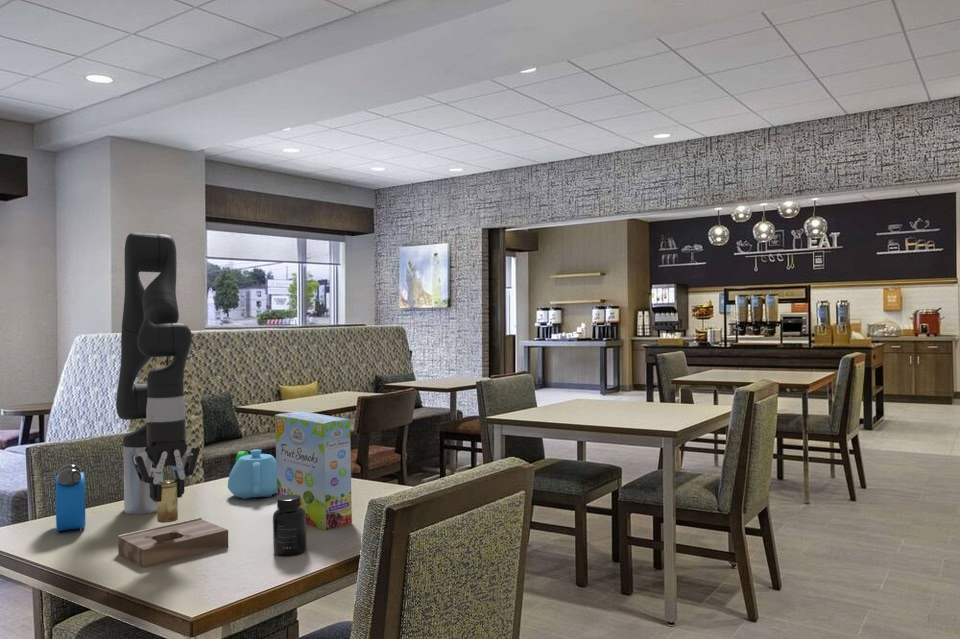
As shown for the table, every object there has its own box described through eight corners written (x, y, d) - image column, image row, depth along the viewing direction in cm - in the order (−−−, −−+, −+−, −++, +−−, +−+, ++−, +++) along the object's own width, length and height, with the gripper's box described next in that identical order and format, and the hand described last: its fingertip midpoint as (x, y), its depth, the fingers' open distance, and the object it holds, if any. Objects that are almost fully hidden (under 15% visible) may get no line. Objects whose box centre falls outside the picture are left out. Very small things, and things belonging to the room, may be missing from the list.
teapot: (228, 488, 214) (228, 445, 214) (299, 483, 220) (298, 441, 220) (226, 505, 195) (226, 458, 195) (303, 499, 201) (303, 453, 201)
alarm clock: (85, 534, 170) (84, 470, 170) (55, 538, 167) (54, 473, 167) (85, 520, 182) (84, 460, 182) (56, 524, 179) (55, 463, 179)
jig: (118, 555, 155) (118, 535, 155) (200, 536, 168) (200, 517, 168) (143, 569, 146) (143, 548, 146) (228, 548, 159) (228, 528, 159)
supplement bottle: (276, 549, 158) (276, 493, 158) (308, 547, 159) (308, 492, 159) (270, 559, 151) (269, 501, 151) (303, 558, 152) (303, 500, 152)
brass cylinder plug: (153, 520, 154) (153, 482, 154) (173, 516, 157) (172, 479, 157) (162, 523, 151) (161, 485, 151) (181, 519, 154) (181, 481, 154)
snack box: (273, 515, 185) (272, 413, 185) (303, 508, 191) (302, 410, 191) (324, 532, 170) (322, 421, 170) (354, 524, 176) (353, 417, 176)
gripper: (190, 413, 162) (191, 490, 162) (123, 420, 152) (125, 502, 152) (206, 415, 157) (208, 495, 157) (138, 423, 147) (140, 509, 147)
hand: (167, 498), depth 154 cm, fingers closed on brass cylinder plug, 4 cm apart
